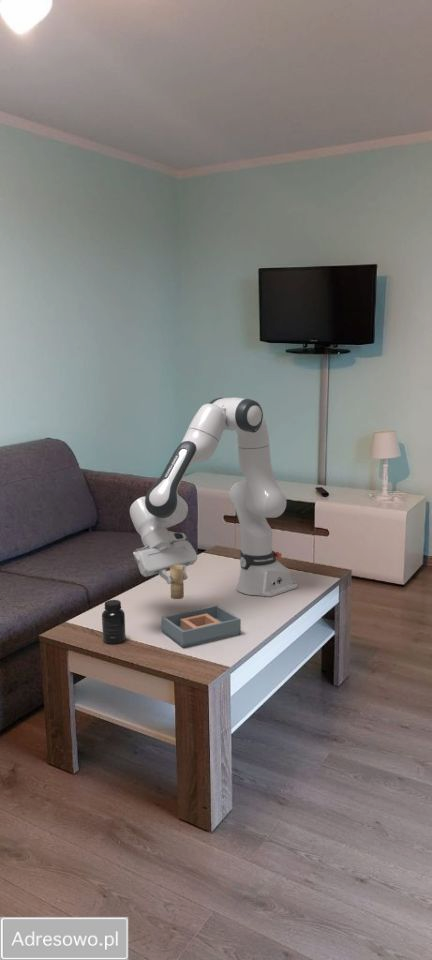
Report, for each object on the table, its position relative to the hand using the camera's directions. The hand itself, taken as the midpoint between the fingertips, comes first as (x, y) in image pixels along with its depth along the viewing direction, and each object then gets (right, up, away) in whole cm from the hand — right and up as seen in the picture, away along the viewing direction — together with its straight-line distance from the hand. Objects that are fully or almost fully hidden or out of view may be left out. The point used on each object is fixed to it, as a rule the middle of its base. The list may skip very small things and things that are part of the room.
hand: (178, 580), depth 223 cm
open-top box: (+7, -16, 0) cm, 18 cm away
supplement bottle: (-19, -17, -5) cm, 26 cm away
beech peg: (0, -5, +2) cm, 5 cm away
